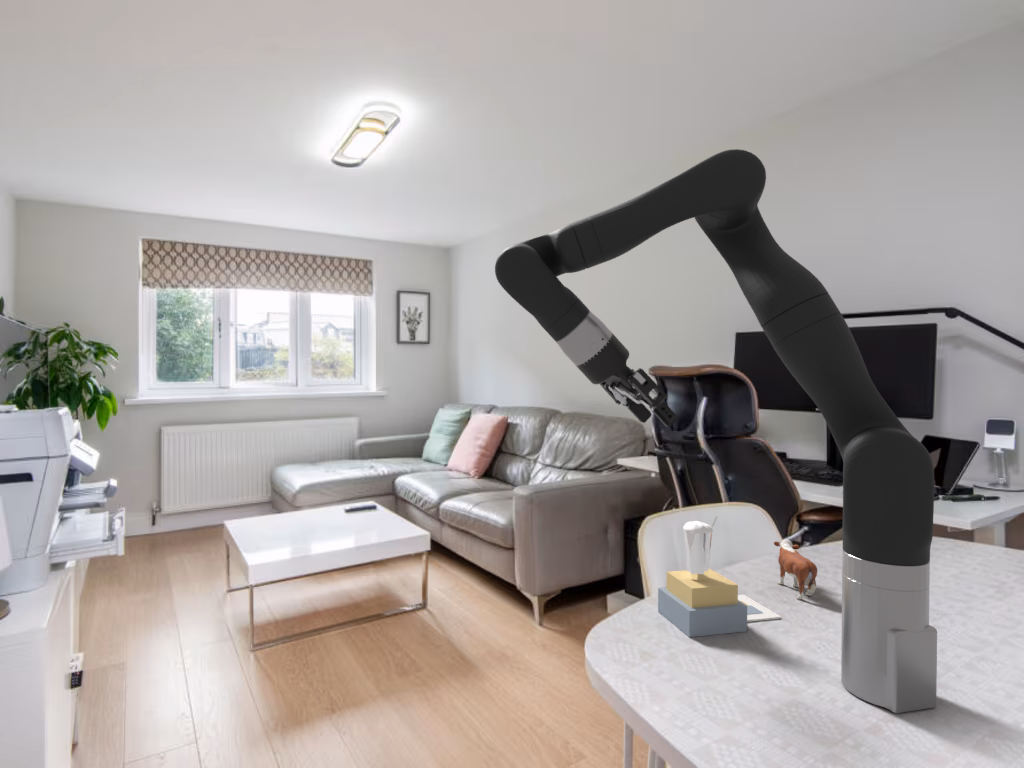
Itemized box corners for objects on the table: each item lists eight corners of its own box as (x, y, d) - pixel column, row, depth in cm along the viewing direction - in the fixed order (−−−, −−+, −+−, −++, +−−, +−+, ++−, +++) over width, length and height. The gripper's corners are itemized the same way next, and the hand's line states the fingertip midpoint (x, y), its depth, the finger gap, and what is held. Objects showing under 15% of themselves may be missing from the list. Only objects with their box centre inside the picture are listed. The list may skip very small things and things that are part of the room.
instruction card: (781, 618, 94) (781, 616, 94) (743, 622, 93) (743, 620, 93) (743, 596, 104) (743, 594, 104) (708, 599, 102) (708, 597, 102)
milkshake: (721, 583, 91) (722, 520, 91) (687, 582, 91) (688, 519, 91) (711, 573, 95) (712, 513, 95) (679, 573, 95) (680, 513, 95)
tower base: (747, 631, 89) (747, 586, 89) (689, 637, 87) (689, 591, 87) (710, 606, 99) (711, 566, 99) (658, 611, 97) (658, 570, 97)
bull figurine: (792, 577, 114) (792, 537, 114) (822, 604, 101) (822, 557, 101) (769, 577, 115) (769, 536, 115) (796, 602, 101) (796, 556, 101)
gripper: (627, 326, 82) (698, 406, 85) (591, 334, 96) (653, 402, 99) (592, 363, 81) (665, 442, 84) (561, 365, 95) (625, 433, 98)
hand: (659, 420), depth 91 cm, fingers open, 8 cm apart
